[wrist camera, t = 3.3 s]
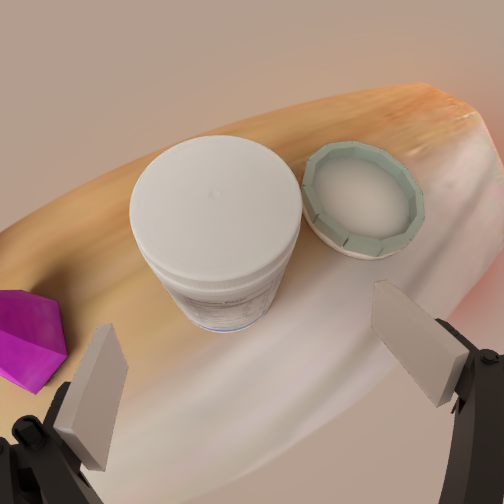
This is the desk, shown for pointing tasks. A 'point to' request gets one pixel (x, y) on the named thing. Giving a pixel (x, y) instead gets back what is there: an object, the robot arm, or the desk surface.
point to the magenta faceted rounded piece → (30, 339)
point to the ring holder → (361, 200)
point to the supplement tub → (218, 227)
